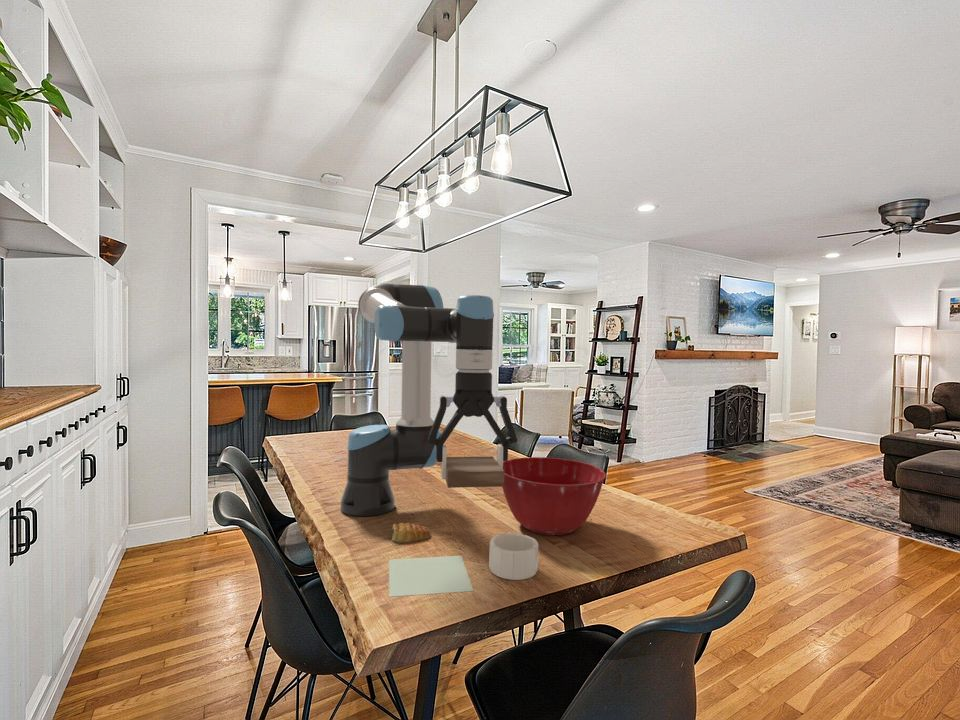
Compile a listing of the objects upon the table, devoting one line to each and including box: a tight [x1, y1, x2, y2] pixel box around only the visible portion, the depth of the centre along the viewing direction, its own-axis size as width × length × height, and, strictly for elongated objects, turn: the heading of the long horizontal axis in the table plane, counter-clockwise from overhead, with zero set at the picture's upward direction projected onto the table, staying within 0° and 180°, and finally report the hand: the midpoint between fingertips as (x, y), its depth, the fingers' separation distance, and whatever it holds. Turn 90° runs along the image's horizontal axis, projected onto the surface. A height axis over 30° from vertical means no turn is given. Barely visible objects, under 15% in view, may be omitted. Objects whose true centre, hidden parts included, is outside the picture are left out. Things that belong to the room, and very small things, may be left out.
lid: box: [444, 456, 504, 489], centre depth 103 cm, size 13×11×3 cm
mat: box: [388, 555, 474, 598], centre depth 102 cm, size 16×16×1 cm
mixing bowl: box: [502, 456, 607, 536], centre depth 132 cm, size 28×28×16 cm
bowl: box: [488, 532, 539, 581], centre depth 105 cm, size 10×10×6 cm
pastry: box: [391, 522, 431, 544], centre depth 122 cm, size 9×7×4 cm
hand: (471, 477), depth 103 cm, fingers closed on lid, 11 cm apart
